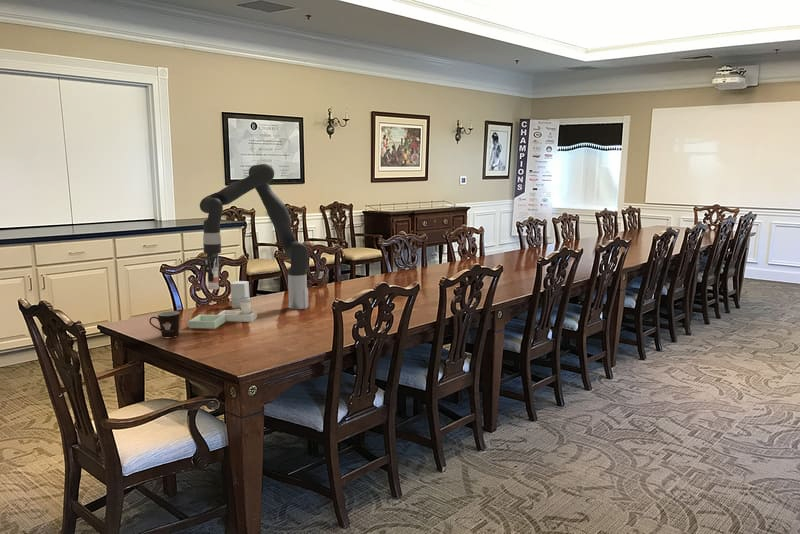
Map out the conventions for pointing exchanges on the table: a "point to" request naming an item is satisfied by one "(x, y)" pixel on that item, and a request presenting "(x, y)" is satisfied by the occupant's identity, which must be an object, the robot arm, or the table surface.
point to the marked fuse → (214, 280)
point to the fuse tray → (207, 321)
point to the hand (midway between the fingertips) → (213, 280)
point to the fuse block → (238, 316)
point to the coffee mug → (168, 323)
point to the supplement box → (239, 292)
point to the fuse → (245, 305)
